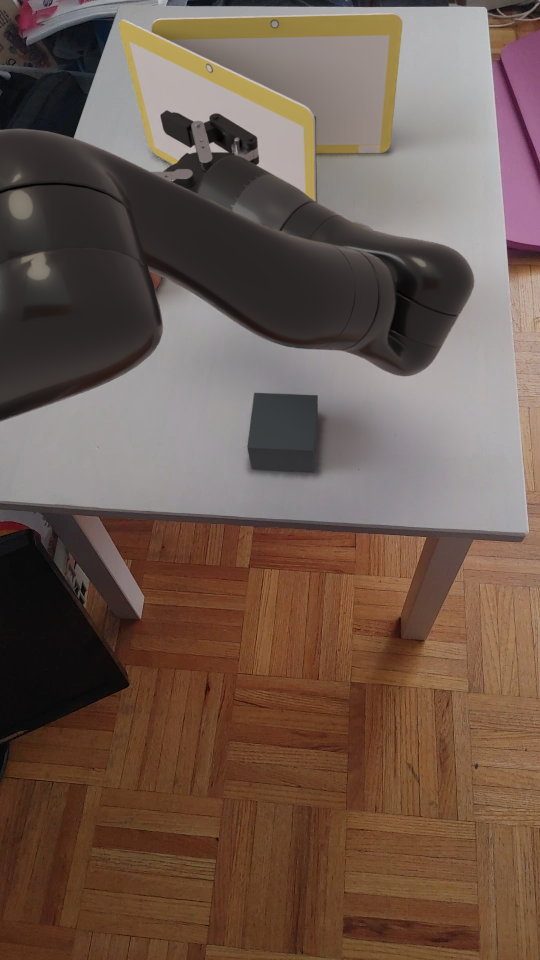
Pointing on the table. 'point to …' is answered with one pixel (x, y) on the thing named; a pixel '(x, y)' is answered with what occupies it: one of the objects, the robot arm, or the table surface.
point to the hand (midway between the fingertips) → (132, 144)
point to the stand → (283, 432)
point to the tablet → (271, 83)
